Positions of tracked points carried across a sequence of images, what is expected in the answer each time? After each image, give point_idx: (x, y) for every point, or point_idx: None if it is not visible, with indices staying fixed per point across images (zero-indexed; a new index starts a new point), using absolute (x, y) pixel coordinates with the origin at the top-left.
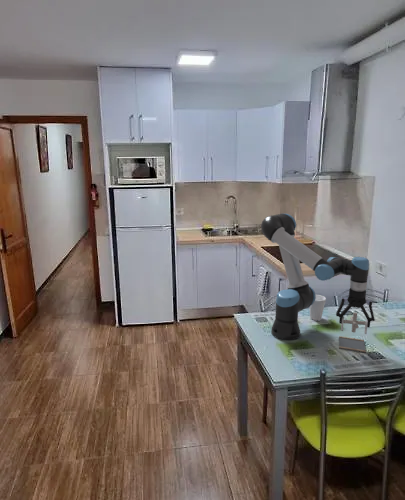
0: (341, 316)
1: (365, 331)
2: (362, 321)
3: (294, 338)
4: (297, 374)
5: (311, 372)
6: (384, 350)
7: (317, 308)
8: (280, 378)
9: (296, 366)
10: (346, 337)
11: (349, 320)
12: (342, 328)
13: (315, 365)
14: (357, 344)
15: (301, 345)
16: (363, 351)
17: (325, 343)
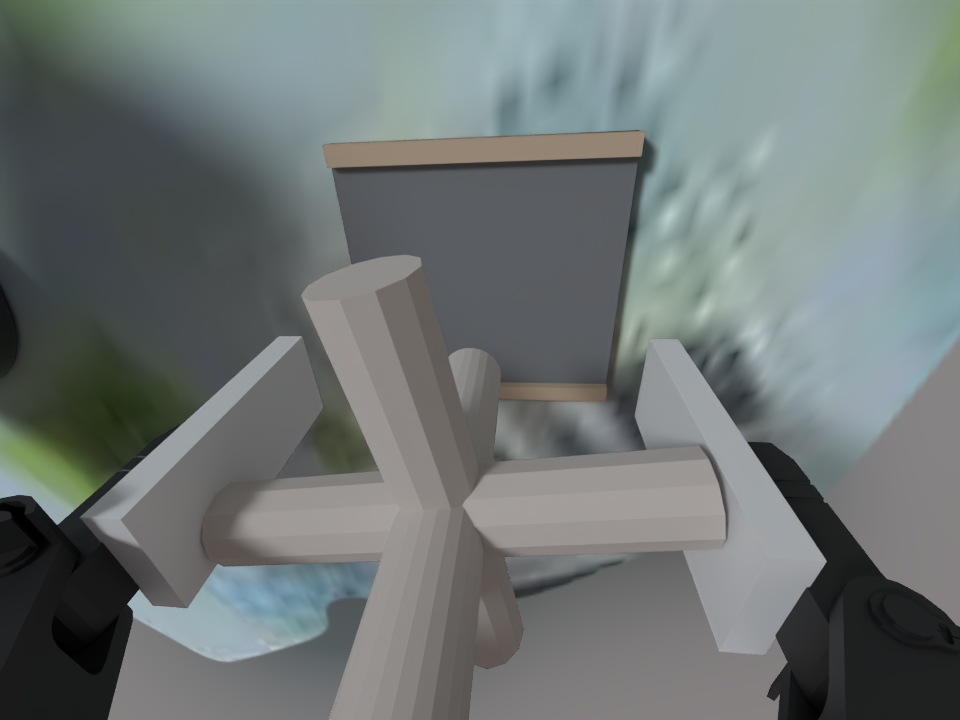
0: (88, 657)
1: (651, 447)
2: (635, 549)
3: (4, 364)
4: (264, 633)
5: (309, 617)
6: (829, 277)
7: None
8: (223, 655)
9: (231, 597)
10: (414, 151)
11: (324, 560)
12: (301, 430)
13: (304, 577)
14: (543, 275)
15: (121, 421)
16: (585, 397)
17: (254, 333)
